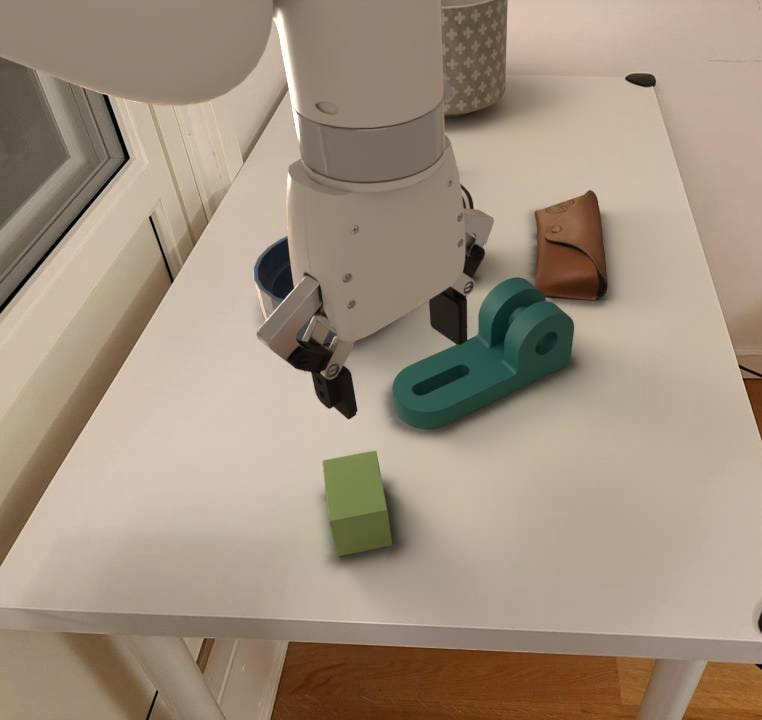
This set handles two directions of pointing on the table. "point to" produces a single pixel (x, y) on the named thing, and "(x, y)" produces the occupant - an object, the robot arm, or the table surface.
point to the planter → (474, 53)
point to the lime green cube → (356, 503)
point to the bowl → (277, 281)
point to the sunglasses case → (571, 250)
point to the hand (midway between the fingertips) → (396, 368)
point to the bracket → (488, 358)
